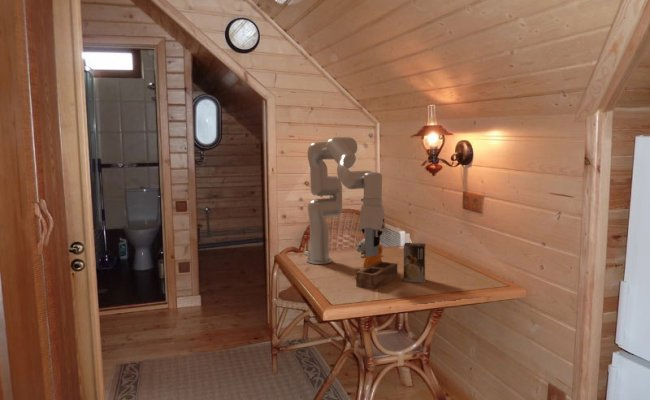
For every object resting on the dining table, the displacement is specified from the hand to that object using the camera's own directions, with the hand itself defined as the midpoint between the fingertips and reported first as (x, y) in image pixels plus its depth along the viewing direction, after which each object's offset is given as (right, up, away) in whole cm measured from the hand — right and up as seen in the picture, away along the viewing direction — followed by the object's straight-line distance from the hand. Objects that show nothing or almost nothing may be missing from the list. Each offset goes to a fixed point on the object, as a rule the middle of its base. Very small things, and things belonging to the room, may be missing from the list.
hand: (372, 245), depth 211 cm
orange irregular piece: (+5, -14, +27) cm, 31 cm away
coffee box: (+19, -16, +9) cm, 27 cm away
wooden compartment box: (+3, -16, +7) cm, 18 cm away
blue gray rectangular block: (0, -4, 0) cm, 4 cm away
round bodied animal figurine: (+1, -10, +56) cm, 57 cm away
